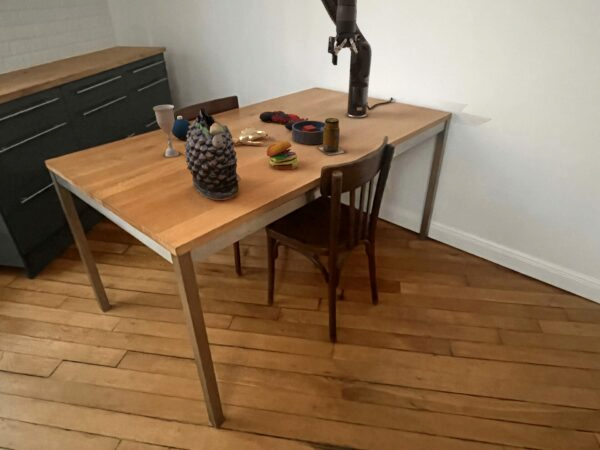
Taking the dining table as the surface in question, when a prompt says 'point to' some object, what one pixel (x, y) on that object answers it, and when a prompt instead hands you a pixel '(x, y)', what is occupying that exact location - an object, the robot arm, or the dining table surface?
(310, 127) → the toy car
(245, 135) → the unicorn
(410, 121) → the dining table surface
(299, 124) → the bowl
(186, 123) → the christmas ornament
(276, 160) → the cheeseburger
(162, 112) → the chalice
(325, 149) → the condiment
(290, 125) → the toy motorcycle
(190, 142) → the pinecone ceramic vase
